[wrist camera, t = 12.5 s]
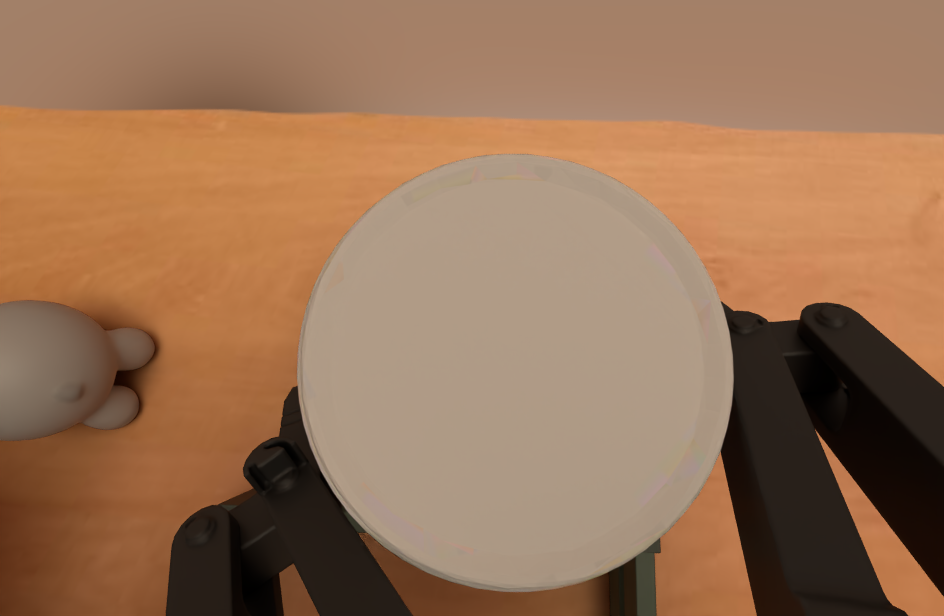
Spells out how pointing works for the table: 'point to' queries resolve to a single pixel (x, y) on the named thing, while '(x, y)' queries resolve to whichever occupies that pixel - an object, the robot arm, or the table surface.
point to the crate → (627, 581)
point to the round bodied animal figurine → (64, 370)
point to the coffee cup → (515, 372)
